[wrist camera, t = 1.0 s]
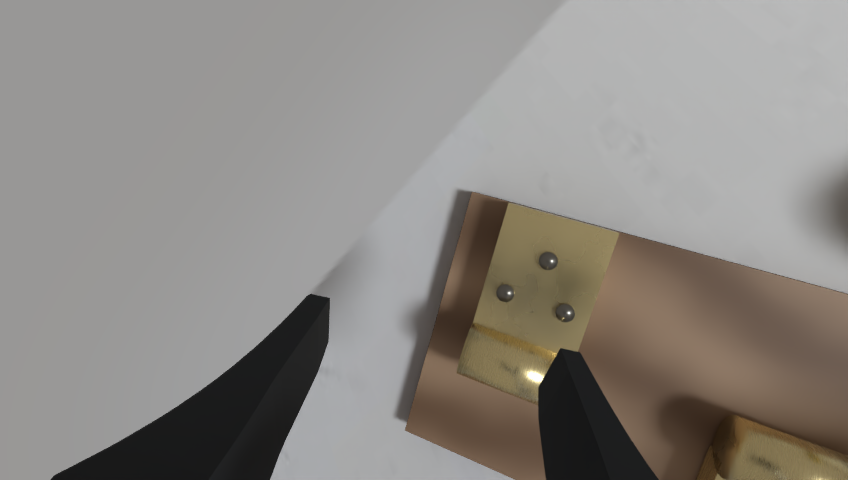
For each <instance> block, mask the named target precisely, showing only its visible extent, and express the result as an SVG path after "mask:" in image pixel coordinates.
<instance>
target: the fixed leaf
mask: <svg viewBox="0 0 848 480" xmlns="http://www.w3.org/2000/svg"><path fill="white" fill-rule="evenodd" d="M696 480H848V455H845V454H843V453H840V452H837V451H834V450H831V449H828V448H826V447H823V446H820V445H817V444H814V443H812V442H809V441H806V440H803V439H800V438H798V437H795V436H792V435H789V434H786V433H784V432H781V431H778V430H775V429H772V428H770V427H767V426H764V425H761V424H758V423H756V422H753V421H750V420H747V419H744V418H742V417H739V416H736V415H730V416H728V417H726V418H725V419H724V420H723V421H722V422H721V423H720V425H719V427H718V429H717V431H716V434H715V437H714V442H713V446H710V447H709V449H708V452H707V454H706V456H705V459H704V461H703V463H702V466H701V468H700V470H699V473H698V475H697V477H696Z"/></svg>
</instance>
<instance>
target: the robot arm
mask: <svg viewBox="0 0 848 480" xmlns="http://www.w3.org/2000/svg"><path fill="white" fill-rule="evenodd" d="M329 309H330V298H327V297H322V296H317V295H313V294H310V295H308V296H306V298H305V299H304V300H303V301H302V302H301V303H300V304H299V305H298V306H297V307H296V308H295V310H294V311H293V312H292V313H291V314H290V315H289V316H288V317H287V318H286V319H285V320H284V321H283V322H282V323H281V324H280V325H279V326H278V327H277V328H276V329H275V330H273V331H272V332H271V333H270V334H269V335H268V336H267V337H266V338H265V339H264V340H263V341H262V342H260V343H259V344H258V345H257V346H256V347H255V348H254V349H253V350H252V351H250V352H249V353H248V354H247V355H246V356H244V357H243V358H242V359H241V360H240V361H239V362H237V363H236V364H235V365H234V366H232V367H231V368H230V369H229V370H227V371H226V372H225V373H223V374H222V375H221V376H220V377H218V378H217V379H216V380H214V381H213V382H212V383H210V384H209V385H207V386H206V387H205V388H203V389H202V390H201V391H199V392H198V393H196V394H195V395H193V396H192V397H191V398H189V399H187V400H186V401H184V402H183V403H182V404H180V405H179V406H177V407H176V408H174V409H173V410H171V411H170V412H168V413H166V414H165V415H163V416H162V417H160V418H158V419H157V420H155V421H153V422H152V423H150V424H148V425H147V426H145V427H143V428H142V429H140V430H138V431H136V432H135V433H133V434H131V435H130V436H128V437H126V438H124V439H123V440H121V441H119V442H118V443H116V444H114V445H112V446H110V447H108V448H107V449H104V450H103V451H101V452H99V453H97V454H95V455H93V456H91V457H89V458H87V459H85V460H83V461H81V462H79V463H78V464H76V465H74V466H72V467H70V468H68V469H66V470H64V471H62V472H60V473H58V474H56V475H55V476H53V478H52V479H51V480H270V478H271V475H272V473H273V470H274V467H275V465H276V462H277V459H278V457H279V454H280V452H281V449H282V447H283V445H284V442H285V440H286V438H287V436H288V434H289V432H290V429H291V427H292V425H293V423H294V421H295V419H296V417H297V415H298V413H299V411H300V408H301V406H302V404H303V402H304V400H305V398H306V396H307V394H308V392H309V390H310V387H311V385H312V383H313V381H314V379H315V377H316V375H317V373H318V370H319V367H320V364H321V361H322V359H323V356H324V353H325V350H326V347H327V344H328V338H329ZM538 420H539V429H540V437H541V445H542V453H543V461H544V469H545V476H546V480H659V479H658V478H657V476H656V475H655V474H654V472H653V471H652V470H651V468H650V467H649V465H648V464H647V462H646V461H645V460H644V458H643V457H642V455H641V454H640V452H639V451H638V449H637V448H636V446H635V445H634V443H633V442H632V440H631V438H630V437H629V435H628V434H627V432H626V431H625V429H624V427H623V426H622V424H621V422H620V421H619V419H618V417H617V416H616V414H615V412H614V411H613V409H612V407H611V406H610V404H609V402H608V401H607V399H606V397H605V395H604V394H603V392H602V390H601V388H600V387H599V385H598V383H597V381H596V379H595V378H594V376H593V374H592V372H591V370H590V369H589V367H588V365H587V363H586V362H585V360H584V358H583V356H582V355H581V353H580V352H577V351H572V350H567V349H563V348H560V350H559V351H558V353H557V355H556V357H555V358H554V360H553V362H552V364H551V366H550V367H549V369H548V371H547V373H546V374H545V376H544V378H543V380H542V381H541V383H540V385H539V387H538Z"/></svg>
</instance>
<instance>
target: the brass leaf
mask: <svg viewBox="0 0 848 480" xmlns="http://www.w3.org/2000/svg"><path fill="white" fill-rule="evenodd" d="M618 236H619V233H618V232H616V231H613V230H609V229H606V228H602V227H598V226H595V225H591V224H587V223H584V222H580V221H576V220H573V219H569V218H565V217H562V216H558V215H554V214H551V213H547V212H543V211H540V210H536V209H532V208H529V207H525V206H521V205H518V204H514V203H508V206H507V210H506V213H505V216H504V220H503V223H502V227H501V230H500V233H499V237H498V240H497V243H496V247H495V250H494V253H493V257H492V260H491V263H490V267H489V270H488V274H487V277H486V280H485V284H484V287H483V290H482V294H481V297H480V300H479V304H478V307H477V310H476V314H475V317H474V321H473V323H472V325H471V328H470V330H469V333H468V335H467V338H466V341H465V343H464V346H463V349H462V353H461V356H460V359H459V363H458V367H457V372H456V373H457V374H459V375H462V376H464V377H467V378H469V379H472V380H474V381H477V382H479V383H482V384H484V385H487V386H490V387H492V388H495V389H497V390H500V391H502V392H505V393H507V394H510V395H512V396H515V397H517V398H520V399H523V400H525V401H528V402H530V403H533V404H535V405H538V387H539V385H540V383H541V381H542V380H543V378H544V376H545V374H546V373H547V371H548V369H549V367H550V366H551V364H552V362H553V360H554V358H555V357H556V355H557V353H558V351H559V350H560V348H563V349H567V350H572V351H577V352H578V350H579V347H580V344H581V342H582V339H583V336H584V333H585V330H586V327H587V324H588V322H589V319H590V316H591V313H592V310H593V307H594V305H595V302H596V299H597V296H598V293H599V290H600V287H601V285H602V282H603V279H604V276H605V273H606V270H607V267H608V265H609V262H610V259H611V256H612V253H613V250H614V247H615V245H616V242H617V239H618Z"/></svg>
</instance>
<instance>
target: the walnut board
mask: <svg viewBox="0 0 848 480" xmlns="http://www.w3.org/2000/svg"><path fill="white" fill-rule="evenodd" d="M508 203H513V202H509V201H505V200H502V199H498V198H494V197H491V196H487V195H483V194H480V193H476V192H472V194H471V197H470V201H469V204H468V208H467V211H466V215H465V218H464V222H463V226H462V229H461V233H460V236H459V240H458V243H457V247H456V250H455V254H454V258H453V261H452V265H451V268H450V272H449V275H448V279H447V283H446V286H445V290H444V293H443V297H442V300H441V304H440V307H439V311H438V315H437V318H436V322H435V325H434V329H433V332H432V336H431V339H430V343H429V347H428V350H427V354H426V357H425V361H424V364H423V368H422V372H421V375H420V379H419V382H418V386H417V389H416V393H415V396H414V400H413V404H412V407H411V411H410V414H409V418H408V421H407V425H406V428H405V431H408V432H410V433H412V434H414V435H416V436H419V437H421V438H423V439H425V440H428V441H430V442H432V443H434V444H437V445H439V446H441V447H443V448H446V449H448V450H450V451H452V452H455V453H457V454H459V455H461V456H464V457H466V458H468V459H470V460H472V461H475V462H477V463H479V464H481V465H484V466H486V467H488V468H490V469H493V470H495V471H497V472H499V473H502V474H504V475H506V476H508V477H511V478H513V479H515V480H546V476H545V469H544V461H543V453H542V445H541V437H540V429H539V420H538V405H535V404H533V403H530V402H528V401H525V400H523V399H520V398H517V397H515V396H512V395H510V394H507V393H505V392H502V391H500V390H497V389H495V388H492V387H490V386H487V385H484V384H482V383H479V382H477V381H474V380H472V379H469V378H467V377H464V376H462V375H459V374H457V373H456V372H457V367H458V363H459V359H460V356H461V353H462V349H463V346H464V343H465V341H466V338H467V335H468V333H469V330H470V328H471V325H472V323H473V321H474V317H475V314H476V310H477V307H478V304H479V300H480V297H481V294H482V290H483V287H484V284H485V280H486V277H487V274H488V270H489V267H490V263H491V260H492V257H493V253H494V250H495V247H496V243H497V240H498V237H499V233H500V230H501V227H502V223H503V220H504V216H505V213H506V210H507V206H508ZM514 204H516V203H514ZM518 205H520V204H518ZM521 206H524V205H521ZM525 207H527V206H525ZM529 208H531V207H529ZM532 209H535V208H532ZM536 210H538V209H536ZM540 211H542V210H540ZM543 212H546V211H543ZM547 213H549V212H547ZM551 214H553V213H551ZM554 215H557V214H554ZM558 216H560V215H558ZM562 217H564V216H562ZM565 218H568V217H565ZM569 219H571V218H569ZM573 220H575V219H573ZM576 221H579V220H576ZM580 222H582V221H580ZM584 223H586V222H584ZM587 224H590V223H587ZM591 225H593V224H591ZM595 226H597V225H595ZM598 227H601V226H598ZM602 228H604V227H602ZM606 229H608V228H606ZM609 230H612V229H609ZM613 231H615V230H613ZM616 232H618V233H619V236H618V239H617V242H616V245H615V247H614V250H613V253H612V256H611V259H610V262H609V265H608V267H607V270H606V273H605V276H604V279H603V282H602V285H601V287H600V290H599V293H598V296H597V299H596V302H595V305H594V307H593V310H592V313H591V316H590V319H589V322H588V324H587V327H586V330H585V333H584V336H583V339H582V342H581V344H580V347H579V350H578V352H580V353H581V355H582V356H583V358H584V360H585V362H586V363H587V365H588V367H589V369H590V370H591V372H592V374H593V376H594V378H595V379H596V381H597V383H598V385H599V387H600V388H601V390H602V392H603V394H604V395H605V397H606V399H607V401H608V402H609V404H610V406H611V407H612V409H613V411H614V412H615V414H616V416H617V417H618V419H619V421H620V422H621V424H622V426H623V427H624V429H625V431H626V432H627V434H628V435H629V437H630V438H631V440H632V442H633V443H634V445H635V446H636V448H637V449H638V451H639V452H640V454H641V455H642V457H643V458H644V460H645V461H646V462H647V464H648V465H649V467H650V468H651V470H652V471H653V472H654V474H655V475H656V476H657V478H658V479H659V480H696V477H697V475H698V473H699V470H700V468H701V466H702V463H703V461H704V459H705V456H706V454H707V452H708V449H709V447H710V446H713V442H714V437H715V434H716V431H717V429H718V427H719V425H720V423H721V422H722V421H723V420H724V419H725V418H726V417H728V416H730V415H736V416H739V417H742V418H744V419H747V420H750V421H753V422H756V423H758V424H761V425H764V426H767V427H770V428H772V429H775V430H778V431H781V432H784V433H786V434H789V435H792V436H795V437H798V438H800V439H803V440H806V441H809V442H812V443H814V444H817V445H820V446H823V447H826V448H828V449H831V450H834V451H837V452H840V453H843V454H845V455H848V294H846V293H843V292H839V291H835V290H832V289H828V288H824V287H821V286H817V285H813V284H810V283H806V282H802V281H799V280H795V279H791V278H788V277H784V276H780V275H777V274H773V273H769V272H766V271H762V270H758V269H755V268H751V267H747V266H744V265H740V264H736V263H733V262H729V261H725V260H722V259H718V258H714V257H711V256H707V255H703V254H700V253H696V252H692V251H689V250H685V249H681V248H678V247H674V246H670V245H667V244H663V243H659V242H656V241H652V240H648V239H645V238H641V237H637V236H634V235H630V234H626V233H623V232H619V231H616Z"/></svg>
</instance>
